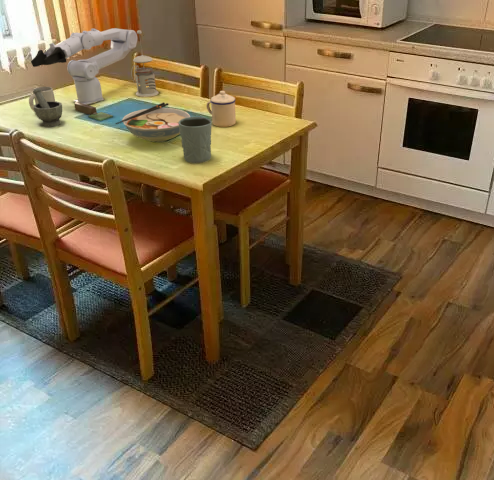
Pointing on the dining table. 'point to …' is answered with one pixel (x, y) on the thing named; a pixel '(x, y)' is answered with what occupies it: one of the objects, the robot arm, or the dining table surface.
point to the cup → (47, 94)
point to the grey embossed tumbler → (196, 139)
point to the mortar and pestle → (47, 110)
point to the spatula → (91, 111)
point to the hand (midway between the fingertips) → (39, 63)
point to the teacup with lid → (222, 110)
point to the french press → (144, 76)
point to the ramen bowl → (155, 123)
